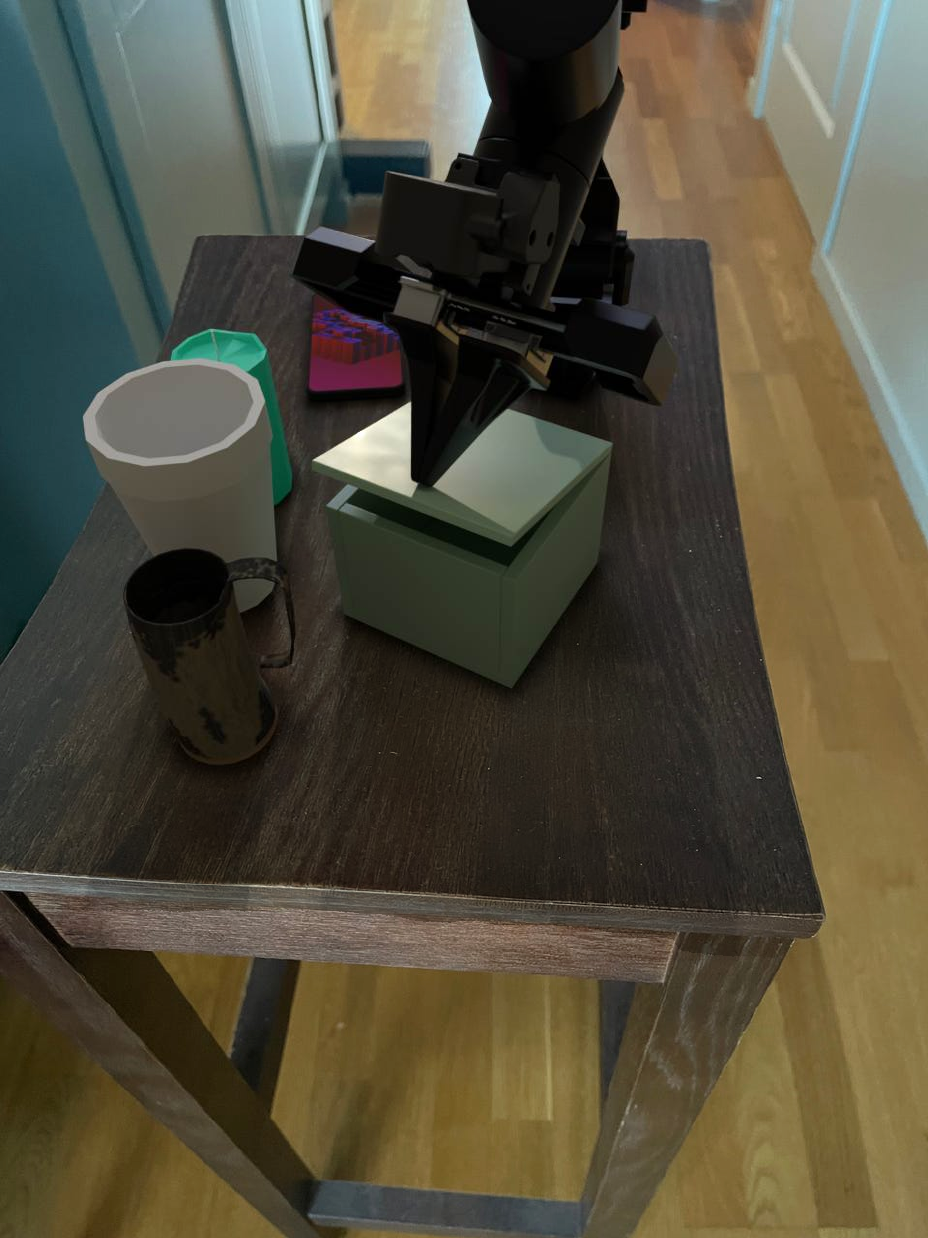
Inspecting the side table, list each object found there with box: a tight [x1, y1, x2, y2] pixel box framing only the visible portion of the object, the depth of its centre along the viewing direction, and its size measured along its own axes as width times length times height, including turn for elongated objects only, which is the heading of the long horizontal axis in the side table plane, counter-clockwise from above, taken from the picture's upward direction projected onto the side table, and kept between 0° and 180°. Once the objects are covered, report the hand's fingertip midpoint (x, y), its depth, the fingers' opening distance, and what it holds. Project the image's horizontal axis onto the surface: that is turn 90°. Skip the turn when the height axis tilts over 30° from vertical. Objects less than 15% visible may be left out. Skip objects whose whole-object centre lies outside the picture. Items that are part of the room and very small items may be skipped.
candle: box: [169, 328, 293, 506], centre depth 60 cm, size 6×6×12 cm
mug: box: [122, 548, 297, 766], centre depth 46 cm, size 8×6×12 cm
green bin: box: [325, 451, 612, 689], centre depth 54 cm, size 12×12×9 cm
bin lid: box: [311, 401, 614, 546], centre depth 49 cm, size 12×12×1 cm
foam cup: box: [82, 358, 278, 614], centre depth 53 cm, size 10×9×13 cm
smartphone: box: [305, 292, 406, 401], centre depth 75 cm, size 8×1×15 cm
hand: (421, 484), depth 45 cm, fingers closed
